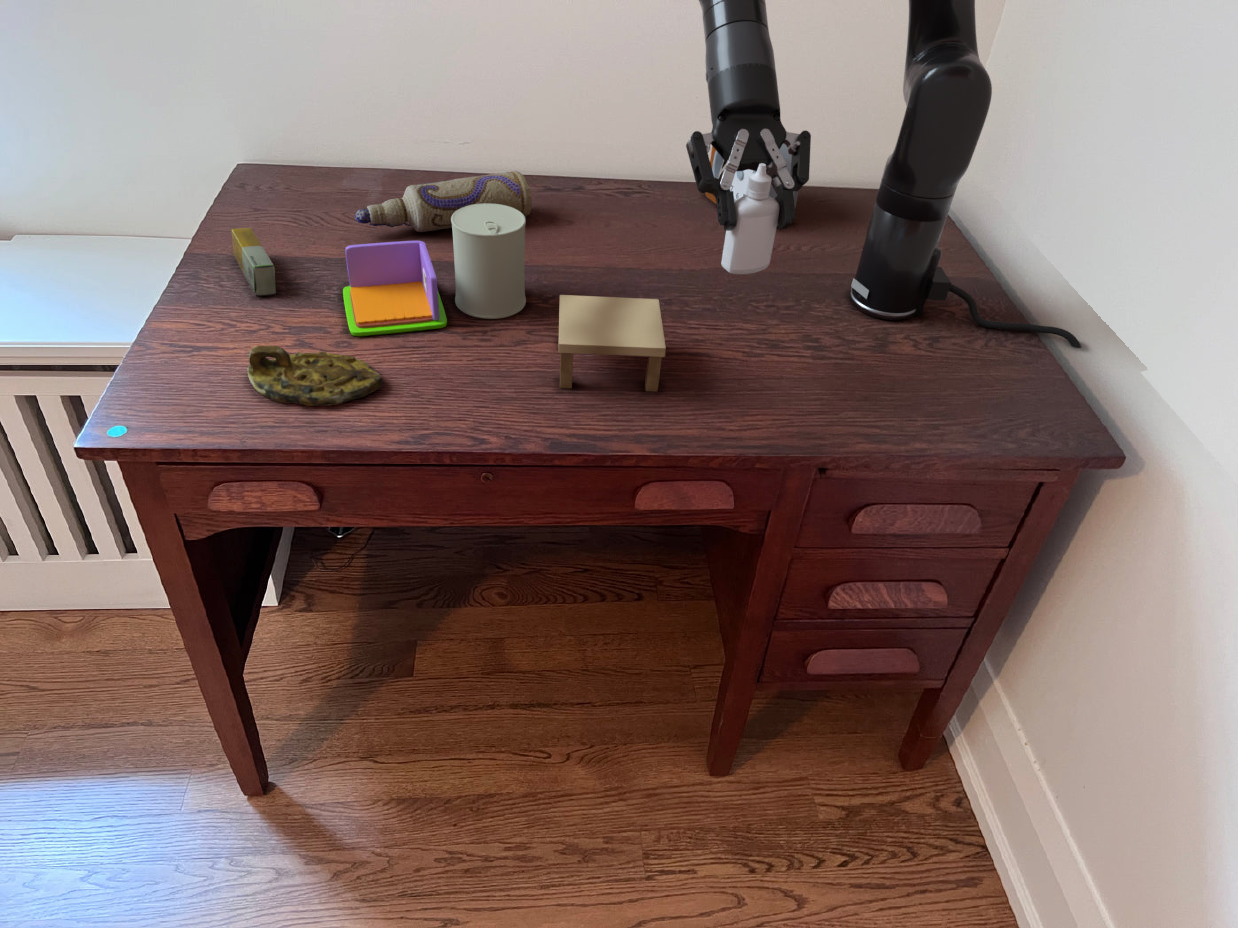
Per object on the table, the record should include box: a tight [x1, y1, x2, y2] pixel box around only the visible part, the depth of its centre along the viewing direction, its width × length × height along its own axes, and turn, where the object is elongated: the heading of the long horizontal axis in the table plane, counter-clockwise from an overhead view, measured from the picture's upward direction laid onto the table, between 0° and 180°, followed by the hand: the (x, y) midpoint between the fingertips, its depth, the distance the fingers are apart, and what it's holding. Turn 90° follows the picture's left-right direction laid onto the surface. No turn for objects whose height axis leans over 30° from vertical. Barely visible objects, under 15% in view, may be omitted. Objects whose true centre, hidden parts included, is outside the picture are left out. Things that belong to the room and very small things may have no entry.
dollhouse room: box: [342, 240, 448, 337], centre depth 111 cm, size 12×12×7 cm
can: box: [451, 203, 527, 320], centre depth 112 cm, size 9×9×12 cm
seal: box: [246, 345, 384, 407], centre depth 98 cm, size 9×5×15 cm
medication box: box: [230, 227, 277, 297], centre depth 115 cm, size 12×3×4 cm, turn 31°
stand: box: [557, 294, 667, 393], centre depth 105 cm, size 12×11×6 cm
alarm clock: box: [705, 130, 800, 227], centre depth 141 cm, size 15×8×14 cm, turn 28°
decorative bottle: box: [354, 170, 533, 233], centre depth 130 cm, size 26×8×7 cm, turn 116°
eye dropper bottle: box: [720, 163, 780, 275], centre depth 97 cm, size 4×6×12 cm
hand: (758, 227), depth 96 cm, fingers closed on eye dropper bottle, 5 cm apart
